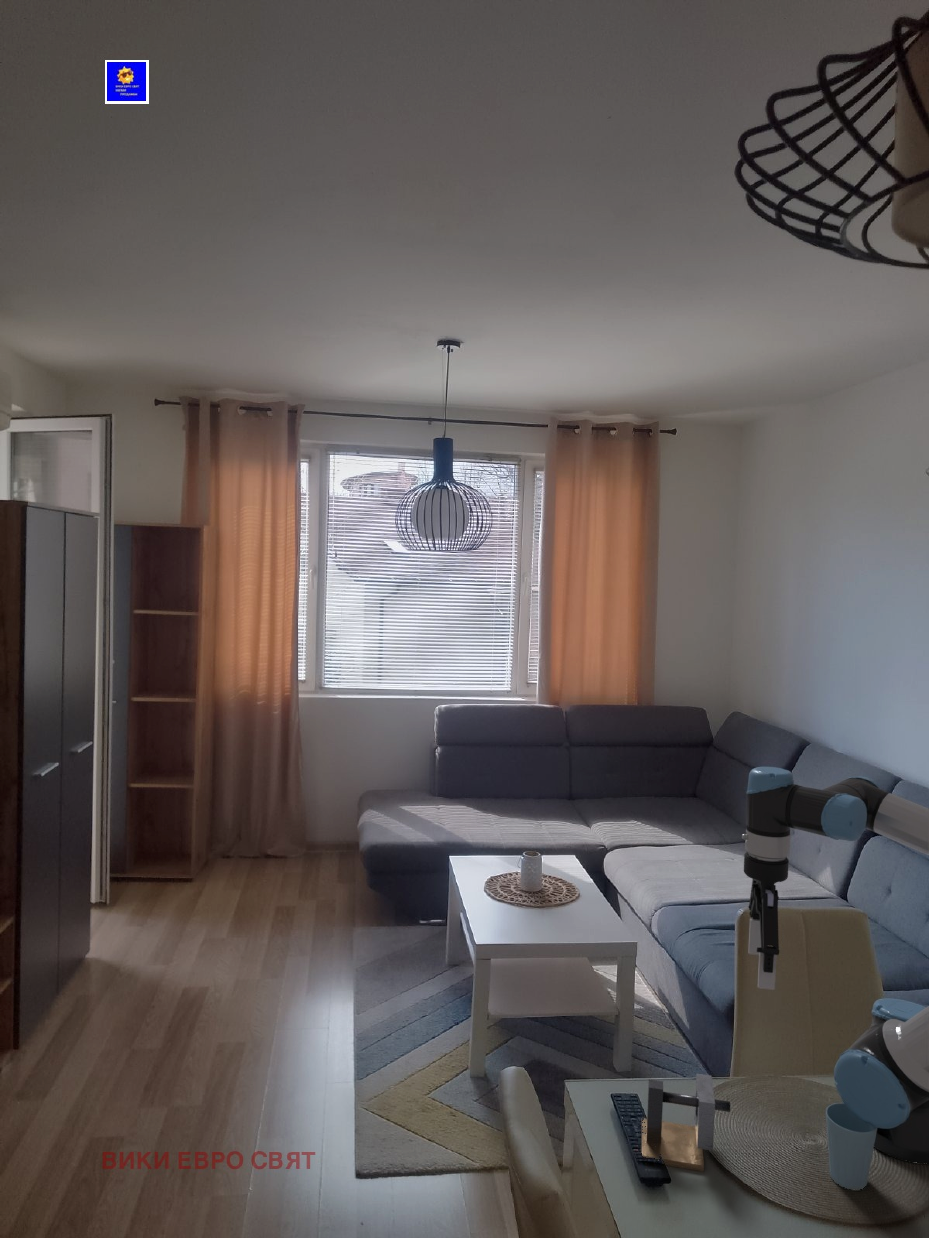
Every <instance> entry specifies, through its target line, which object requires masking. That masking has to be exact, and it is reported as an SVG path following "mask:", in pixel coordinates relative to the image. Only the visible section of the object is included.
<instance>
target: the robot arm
mask: <svg viewBox="0 0 929 1238" xmlns="http://www.w3.org/2000/svg"><path fill="white" fill-rule="evenodd" d="M793 776H794V775H793V773H792V772H791V771H790V770H788V769H784V768H782V767H781V768H780V767H775V766H758V767H755V768H752V769H751V770H750V772H749V773H748V783H747V790H746V819H745V821H746V822H745V823H746V824H745V833H743V834H742V835H741V839H743V840H745V842H744V851H746V852H745V853H744V855H743V873H744V875H746V876H747V877H748V878H750V879H752V881H751V888H750V889H751V890H750V896H749V902H748V903H749V904H748V910H749V917H750V918H749V930H748V933H749V934H748V954H749V955H753V956H754V955H756V956H758V971H757V972H758V974H757V989H761V990H762V989H763V990H772V991H775V990H776V973H777V972H776V969H777V956H779V954H780V949H779V948H780V946H779V945H780V944H779V943H780V942H779V940H780V939H779V908H778V907H779V899H780V898H779V891H778V889H777V888H776V887H777V886H776V884H777V883H782V882H785V881H786V880H788V877H789V865H790V864H789V861H790V860H789V858H788V857H789V856H790V850H791V849H790V848H791V829H793V830H798V831H803V832H808V833H811V834H815V835H818V836H819V835H820V836H823V837H827V838H830V839H833V840H841V841H847V842H856V841H858V840H859V839H860V838H861V837H862V836H863V835H862V834H863V833H864V832H865V829H866V830H868V831H871V832H873V833H876V834H878V835H880V836H883V837H885V838H888V839H890V840H893V841H895V842H897V843H899V844H901V845H904V846H906V847H907V848H908V847H909V848H910V849H912V850H915V851H917V852H920V853H922V854H924V855H927V856H928V857H929V807H926V806H923V805H921V804H919V803H916V802H914V801H912V800H908V799H906V798H903V797H901V796H898V795H896V794H893V793H891V792H888V791H886V790H884V789H882V787H881V786H880V785H879V783H877V782H876V781H875V780H874V779H872V778H870V777H867V776H850V777H848V778H845V779H843V780H842V781H840V782H837V783H835V784H833V785H830V786H827V787H825V788H823V789H820V788H819V789H818V788H814V787H813V788H812V787H808V786H802V785H799V784H796V783H794V777H793ZM870 1012H871V1014H872V1015H871V1019H872V1020H871V1025H870V1027H869V1028H868V1029H867V1030H866V1031H864V1032H863V1033H862V1034H861V1035H860V1036H859V1037H858V1039H856V1041H855V1042H853V1043H852V1045H851V1046H849V1047H848V1049H846V1050H845V1051H843V1052H842V1053H841V1054H840V1056H839V1057H838V1060H837V1061H836V1064H835V1066H834V1069H833V1079H834V1085H835V1088H836V1091H837V1093H838V1095H839V1097H840V1099H841V1101H842V1103H844V1104H845V1105H846V1106H847V1107H848V1109H849V1110H850V1111H851V1112H852V1113H853V1114H854V1115H856V1116H857V1117H858V1118H859V1119H861V1120H862V1121H864V1122H865V1123H869V1124H871V1125H873V1126H875V1127H877V1132H876V1137H875V1143H874V1149H877V1150H878V1151H880V1152H882V1153H884V1154H886V1155H887V1156H890V1157H892V1158H895V1159H896V1160H901V1161H903V1160H907V1161H910V1162H909V1163H911V1162H917V1163H925V1164H924V1165H929V1005H928V1006H924V1005H922V1004H918V1003H916V1002H913V1001H908V1000H905V999H899V998H889V997H887V998H879V999H877V1000H875V1001H874V1003H873V1005H872V1010H871V1011H870ZM907 1161H906V1162H907ZM917 1163H916V1164H917ZM926 1163H927V1164H926Z"/></svg>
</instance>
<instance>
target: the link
mask: <svg viewBox="0 0 929 1238" xmlns="http://www.w3.org/2000/svg"><path fill="white" fill-rule="evenodd" d="M712 1077H713V1076H712V1075H709V1074H702V1073H696V1075H695V1095H694V1096H697V1099H698V1107H694V1118H693V1119H694V1126H695V1129H696V1140H697V1148H700V1149H702V1150H707V1151H714V1133H715V1113H716V1110H715V1100H714V1099H715V1092H714V1085H713V1079H712Z"/></svg>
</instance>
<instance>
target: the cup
mask: <svg viewBox="0 0 929 1238" xmlns="http://www.w3.org/2000/svg"><path fill="white" fill-rule="evenodd" d="M825 1117H826V1118H825V1119H826V1120H825V1121H826V1123H825V1124H826V1132H827V1149H828V1165H829V1176H830V1178H831V1179H832V1181H833V1180H834V1181H833V1182H834V1183H835V1184H837V1185H838V1184H839V1185H838V1186H839V1187H841V1188H843V1187H845V1188H844V1189H846V1188H847V1189H846V1190H849V1189H857V1190H856V1191H860V1190H859V1189H862V1190H864V1189H865V1188H866V1187H867V1184H868V1180H869V1175H870V1170H871V1163H872V1159H873V1154H874V1153H873V1152H874V1149H875V1147H874V1143H875V1137H876V1132H877V1127H875V1126H873V1125H871V1124H869V1123H865V1122H864V1121H862V1120H861V1119H859V1118H858V1117H857V1116H856V1115H854V1114H853V1113H852V1112H851V1111H850V1110H849V1109H848V1107H847V1106H846V1105H845V1104H844V1102H835V1103H831V1104H830V1105H828V1106H827V1107H826V1108H825ZM865 1186H866V1187H865ZM864 1187H865V1188H864ZM863 1188H864V1189H863Z"/></svg>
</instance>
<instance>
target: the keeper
mask: <svg viewBox="0 0 929 1238" xmlns="http://www.w3.org/2000/svg"><path fill="white" fill-rule="evenodd" d="M647 1089H648V1090H647V1110H646V1111H647V1112H646V1113H647V1114H646V1118H644V1117H643V1118H644V1120H643V1121H642V1120H641V1153H642V1156H643V1157H646V1158H655V1159H660V1158H659V1156H660V1154H661V1157H662V1160H663V1161H664V1163H665V1165H664V1166H668V1167H674V1168H681V1169H688V1170H693V1171H699V1172H704V1171H705V1161H704V1155H703V1154H704V1153H703V1149H700V1148H697V1140H696V1129H695V1125H690V1124H689V1125H688V1124H683V1123H675V1122H669V1121H665V1120H664V1121H663V1107H664V1106H663V1105H664V1104H663V1103H666V1104H673V1105H680V1106H687V1107H692V1108H693V1107H694V1108H695V1107H698V1099H697V1096H695V1095H689V1094H682V1093H675V1092H669V1091H664V1081H662V1080H658V1079H657V1080H656V1079H648V1088H647ZM714 1100H715V1111H721V1112H727V1113H730V1112H731V1101H730V1100H724V1099H715V1098H714ZM642 1122H643V1123H642ZM644 1122H645V1123H644ZM642 1126H643V1128H642ZM645 1126H646V1127H645ZM642 1129H643V1130H642ZM642 1132H644V1133H642ZM645 1133H646V1134H645ZM655 1146H656V1147H655ZM659 1153H660V1154H659Z"/></svg>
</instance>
